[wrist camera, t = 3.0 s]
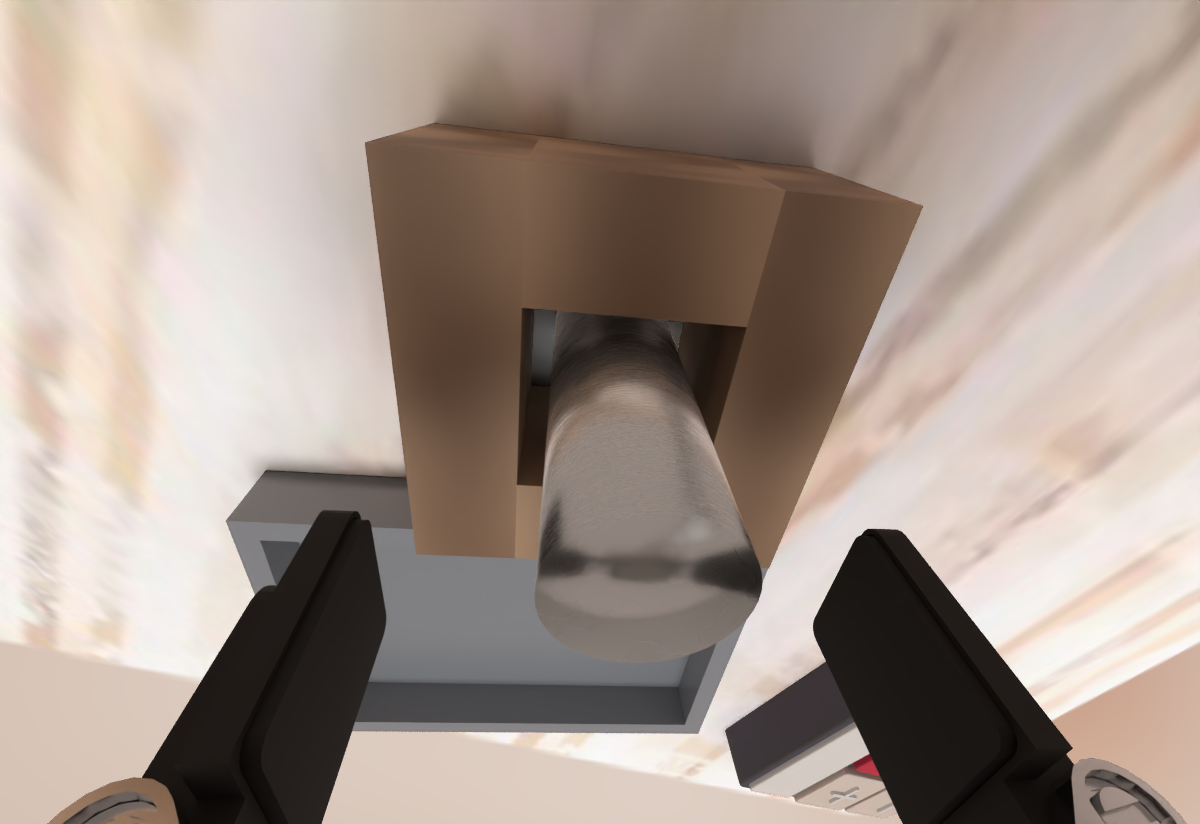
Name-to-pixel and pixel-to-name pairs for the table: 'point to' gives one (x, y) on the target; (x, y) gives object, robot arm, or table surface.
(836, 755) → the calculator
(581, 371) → the pin
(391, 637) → the tray
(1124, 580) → the table surface
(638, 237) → the block
